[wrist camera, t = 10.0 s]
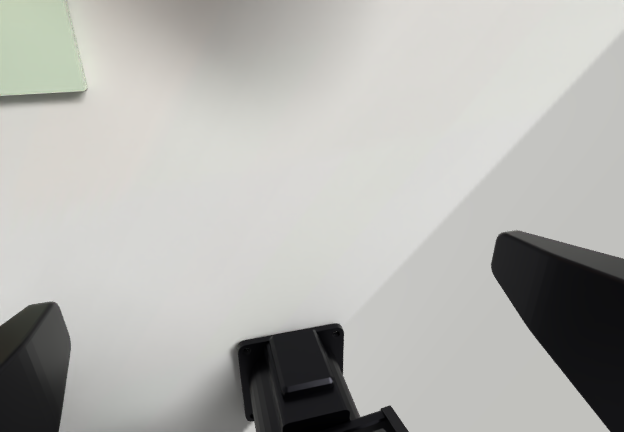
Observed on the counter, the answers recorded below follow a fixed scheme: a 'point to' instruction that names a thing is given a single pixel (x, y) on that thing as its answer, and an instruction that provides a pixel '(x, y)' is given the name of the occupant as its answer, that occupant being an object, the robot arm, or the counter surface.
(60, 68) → the build plate
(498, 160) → the counter surface
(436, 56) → the counter surface
